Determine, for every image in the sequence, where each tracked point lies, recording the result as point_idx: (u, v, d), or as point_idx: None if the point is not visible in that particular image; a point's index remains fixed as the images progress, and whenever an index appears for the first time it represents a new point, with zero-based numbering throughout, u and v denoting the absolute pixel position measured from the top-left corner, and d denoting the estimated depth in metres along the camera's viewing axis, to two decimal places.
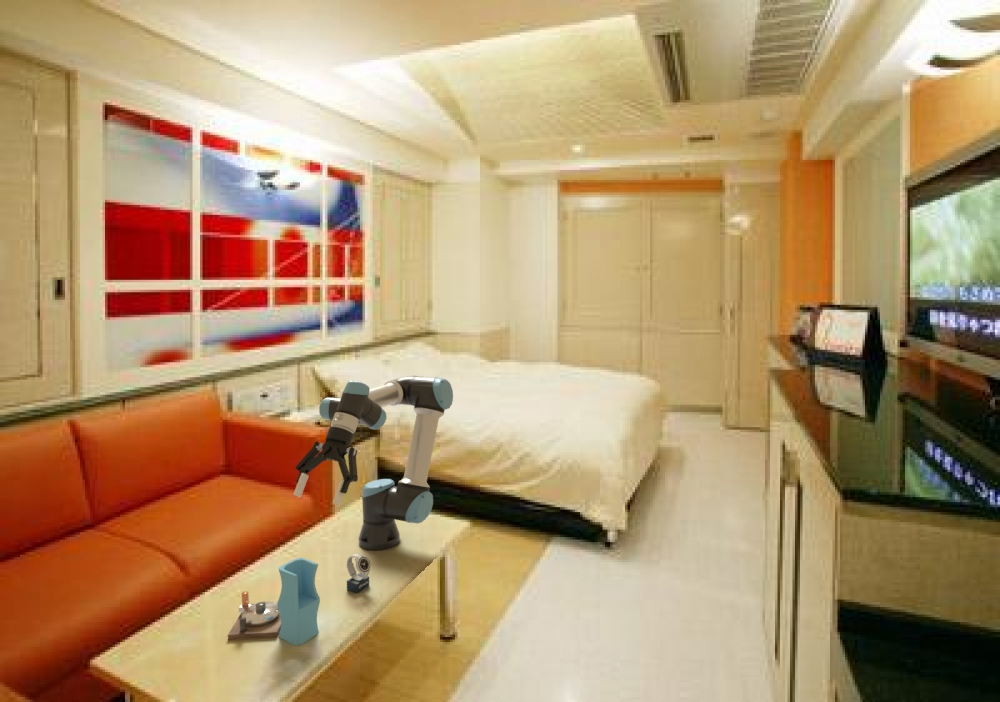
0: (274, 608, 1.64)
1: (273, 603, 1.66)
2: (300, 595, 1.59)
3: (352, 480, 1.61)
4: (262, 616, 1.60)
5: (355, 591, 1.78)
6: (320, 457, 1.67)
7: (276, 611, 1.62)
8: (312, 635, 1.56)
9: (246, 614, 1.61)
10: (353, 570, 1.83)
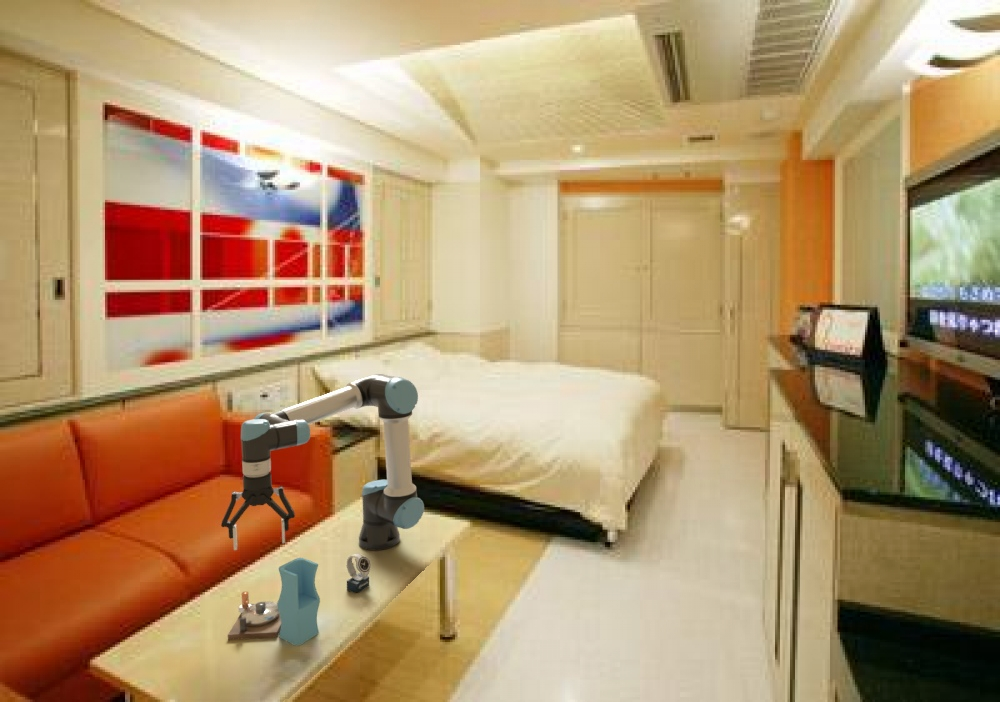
0: (274, 608, 1.64)
1: (273, 603, 1.66)
2: (300, 595, 1.59)
3: None
4: (262, 616, 1.60)
5: (355, 591, 1.78)
6: (247, 507, 1.63)
7: (276, 611, 1.62)
8: (312, 635, 1.56)
9: (246, 614, 1.61)
10: (353, 570, 1.83)
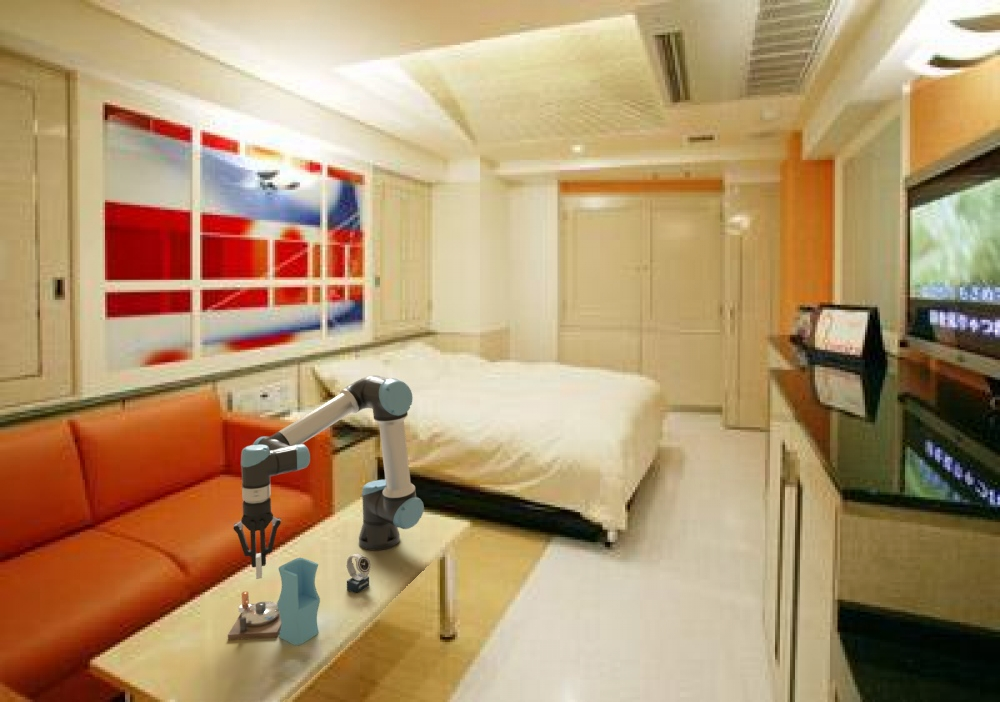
0: (274, 608, 1.64)
1: (273, 603, 1.66)
2: (300, 595, 1.59)
3: None
4: (262, 616, 1.60)
5: (355, 591, 1.78)
6: (255, 533, 1.64)
7: (276, 611, 1.62)
8: (312, 635, 1.56)
9: (246, 614, 1.61)
10: (353, 570, 1.83)
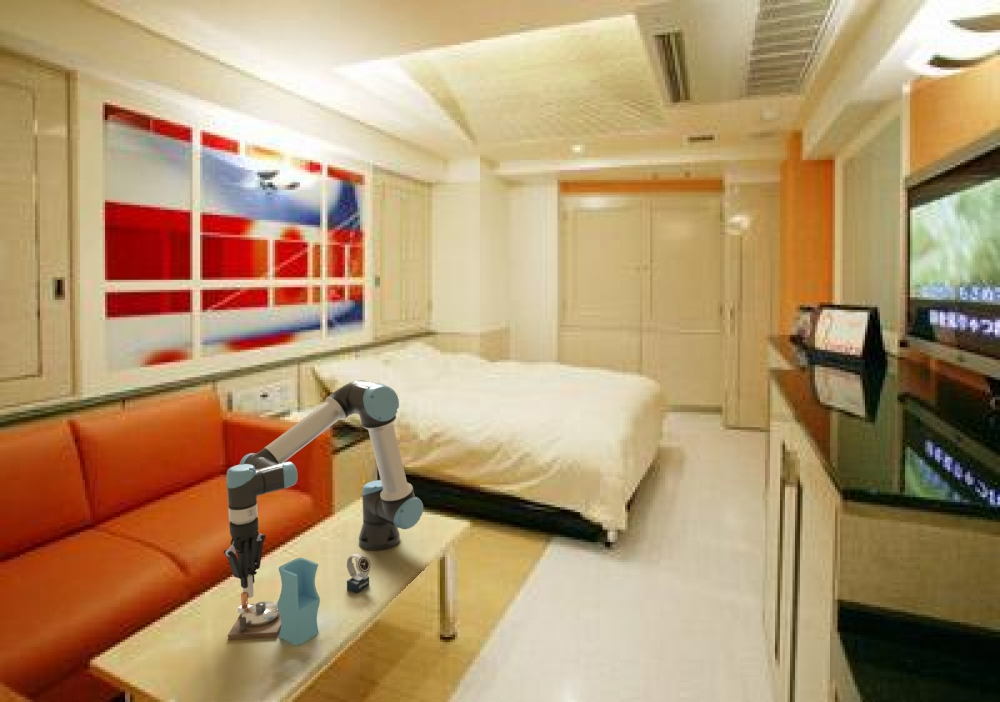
0: (274, 608, 1.64)
1: (273, 603, 1.66)
2: (300, 595, 1.59)
3: None
4: (262, 616, 1.60)
5: (355, 591, 1.78)
6: None
7: (276, 611, 1.62)
8: (312, 635, 1.56)
9: (246, 614, 1.61)
10: (353, 570, 1.83)
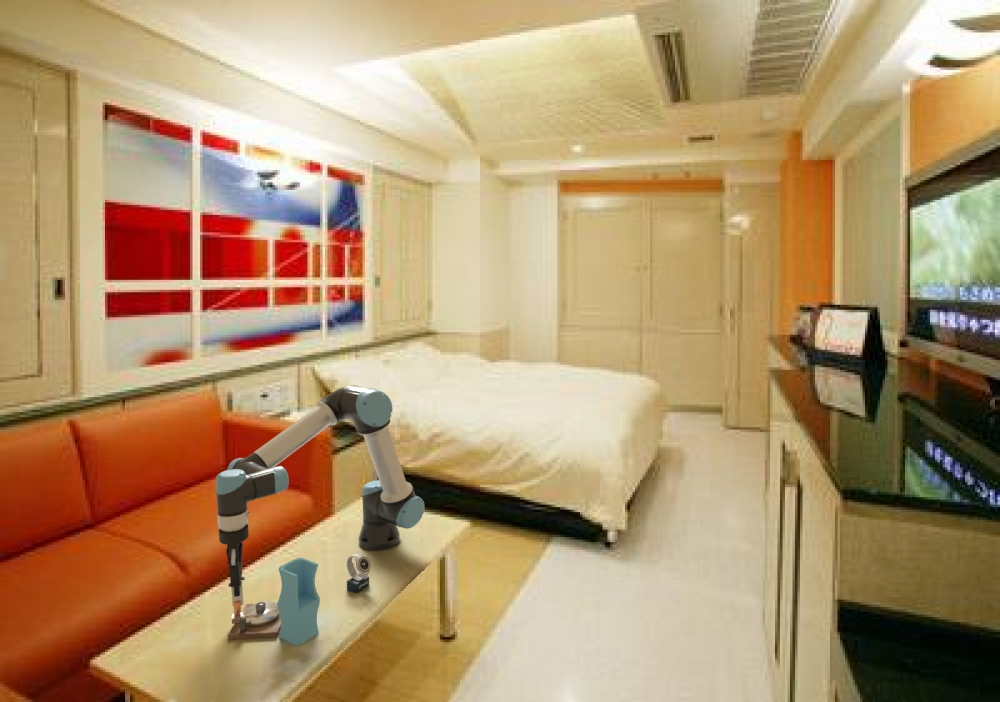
0: (270, 604, 1.66)
1: None
2: (300, 595, 1.59)
3: None
4: (270, 612, 1.62)
5: (355, 591, 1.78)
6: None
7: (276, 604, 1.66)
8: (312, 635, 1.56)
9: (251, 618, 1.59)
10: (353, 570, 1.83)
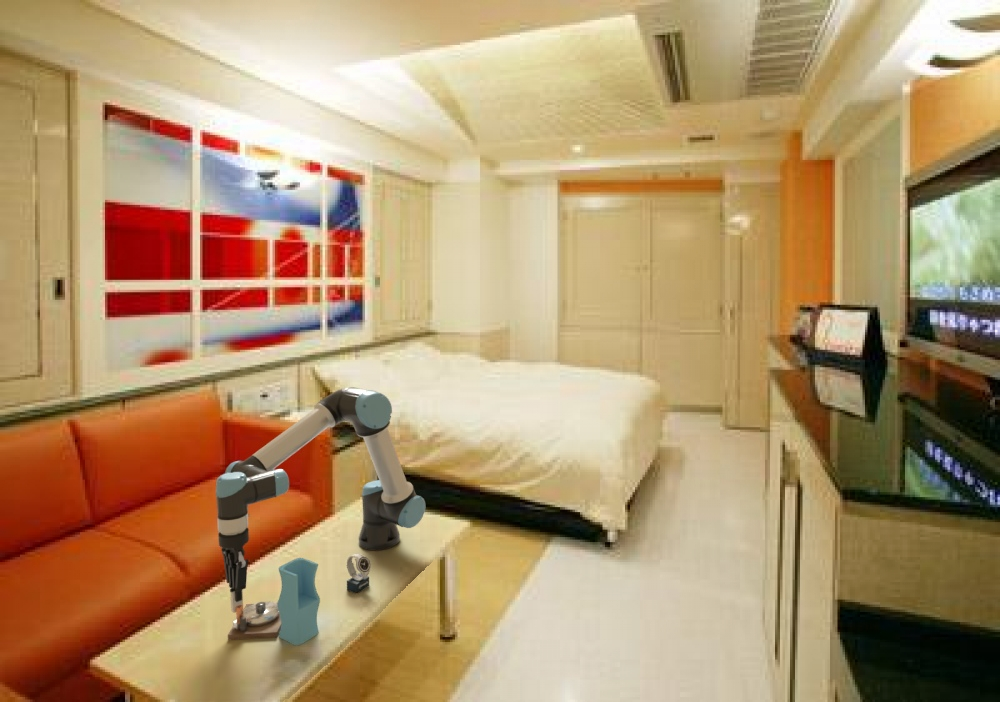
0: (264, 603, 1.66)
1: (254, 605, 1.65)
2: (300, 595, 1.59)
3: None
4: (272, 609, 1.63)
5: (355, 591, 1.78)
6: None
7: (271, 602, 1.67)
8: (312, 635, 1.56)
9: (257, 618, 1.59)
10: (353, 570, 1.83)
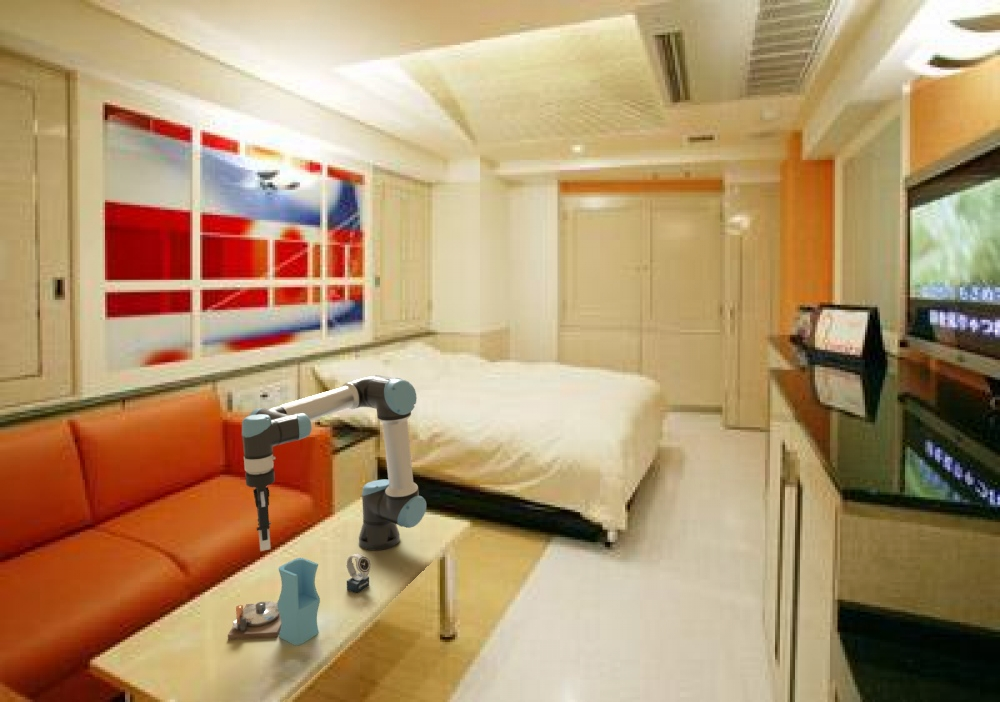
0: (264, 603, 1.66)
1: (254, 605, 1.65)
2: (300, 595, 1.59)
3: None
4: (272, 609, 1.63)
5: (355, 591, 1.78)
6: None
7: (271, 602, 1.67)
8: (312, 635, 1.56)
9: (257, 618, 1.59)
10: (353, 570, 1.83)
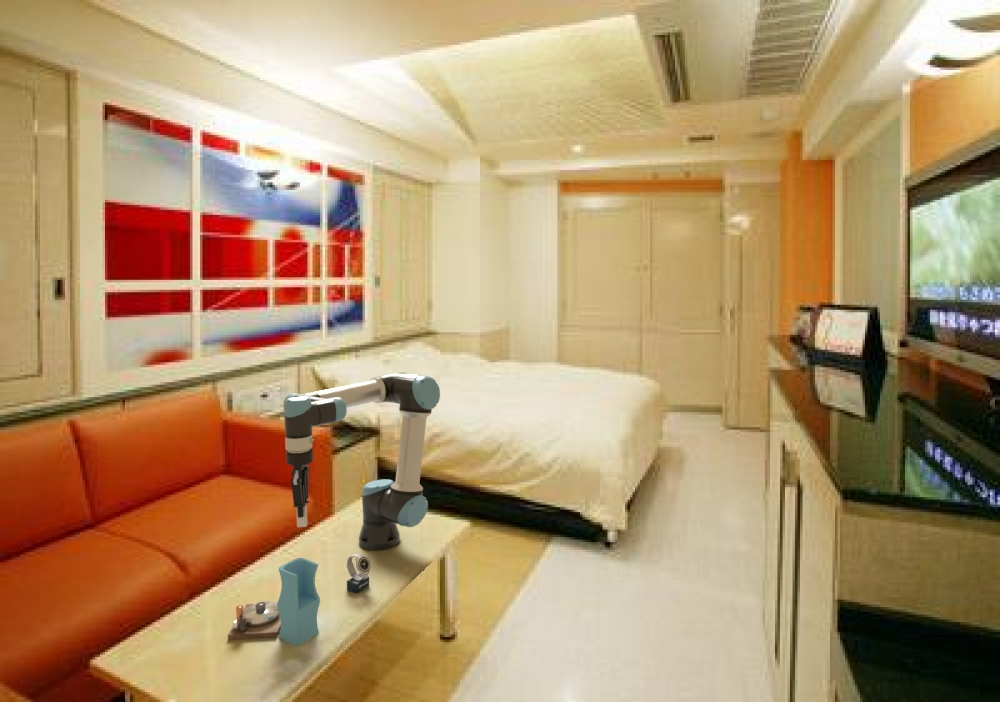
0: (264, 603, 1.66)
1: (254, 605, 1.65)
2: (300, 595, 1.59)
3: None
4: (272, 609, 1.63)
5: (355, 591, 1.78)
6: None
7: (271, 602, 1.67)
8: (312, 635, 1.56)
9: (257, 618, 1.59)
10: (353, 570, 1.83)
